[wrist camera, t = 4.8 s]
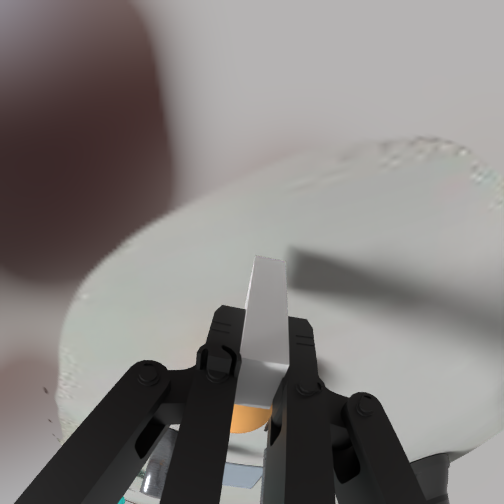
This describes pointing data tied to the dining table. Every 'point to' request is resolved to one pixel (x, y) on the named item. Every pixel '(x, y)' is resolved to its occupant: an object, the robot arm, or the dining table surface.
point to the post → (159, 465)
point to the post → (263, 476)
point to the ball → (248, 418)
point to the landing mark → (241, 475)
